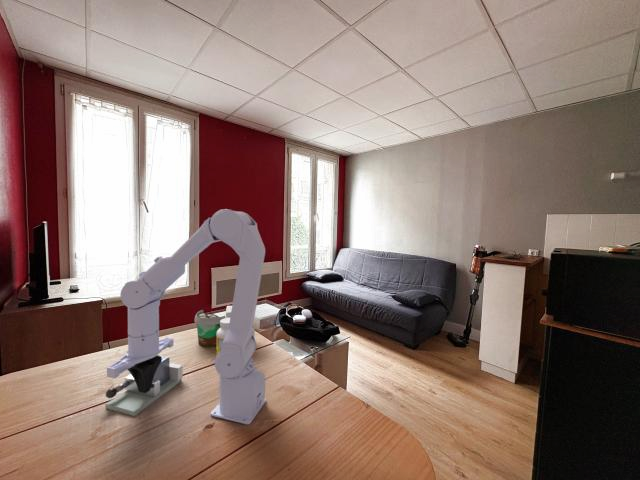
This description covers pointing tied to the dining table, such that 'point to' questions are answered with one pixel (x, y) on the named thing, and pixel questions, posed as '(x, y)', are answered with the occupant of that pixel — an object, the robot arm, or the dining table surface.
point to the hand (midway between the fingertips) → (144, 390)
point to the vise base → (137, 401)
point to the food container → (207, 328)
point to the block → (162, 370)
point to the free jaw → (134, 387)
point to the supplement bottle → (221, 333)
